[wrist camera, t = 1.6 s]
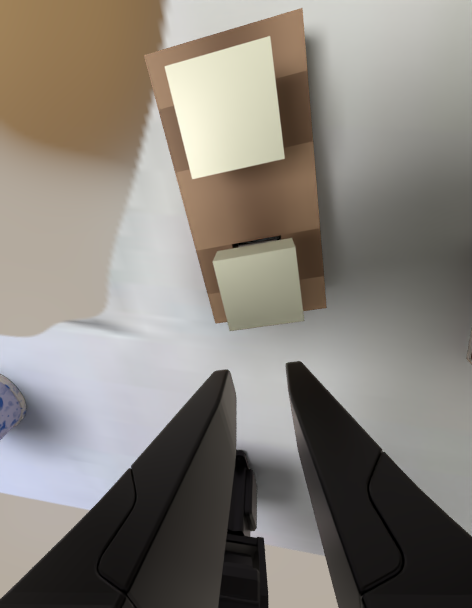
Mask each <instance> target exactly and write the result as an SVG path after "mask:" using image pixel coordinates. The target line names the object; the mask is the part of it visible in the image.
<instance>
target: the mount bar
mask: <svg viewBox="0 0 472 608" xmlns="http://www.w3.org/2000/svg"><path fill="white" fill-rule="evenodd" d="M268 36H270V39H271V47H272V56H273V64H274V72H275V81H276V89H277V97H278V106H279V114H280V123H281V131H282V139H283V148H284V156H285V159H281V160H277V161H272V162H268V163H263V164H259V165H254V166H250V167H245V168H241V169H236V170H232V171H227V172H223V173H218V174H214V175H209V176H205V177H200V178H196V179H192V176H191V172H190V168H189V164H188V160H187V156H186V152H185V148H184V144H183V140H182V136H181V132H180V127H179V123H178V119H177V115H176V111H175V107H174V103H173V99H172V95H171V91H170V87H169V83H168V79H167V75H166V71H165V67H164V66H168V65H171V64H174V63H178V62H181V61H185V60H188V59H192V58H195V57H199V56H202V55H206V54H209V53H213V52H216V51H220V50H223V49H226V48H230V47H233V46H237V45H240V44H244V43H247V42H251V41H254V40H258V39H261V38H265V37H268ZM144 57H145V61H146V65H147V68H148V72H149V76H150V80H151V83H152V87H153V91H154V95H155V99H156V102H157V106H158V110H159V114H160V117H161V121H162V125H163V129H164V132H165V136H166V140H167V144H168V147H169V151H170V155H171V159H172V162H173V166H174V170H175V174H176V177H177V181H178V185H179V188H180V192H181V196H182V200H183V203H184V207H185V211H186V215H187V218H188V222H189V226H190V230H191V233H192V237H193V241H194V245H195V248H196V252H197V256H198V260H199V263H200V267H201V271H202V275H203V278H204V282H205V286H206V290H207V293H208V297H209V301H210V305H211V308H212V312H213V316H214V319H215V323H223V322H227V318H226V314H225V310H224V306H223V302H222V298H221V294H220V290H219V286H218V281H217V277H216V273H215V269H214V265H213V260H214V257H215V255H216V253H217V251H221V250H227V249H233V248H238V243H241V242H247V241H252V240H258V239H263V238H269V237H274V236H279V235H280V240H282V239H288V238H292V240H293V242H294V245H295V248H296V256H297V265H298V273H299V282H300V290H301V298H302V307H303V311H308V310H315V309H322V308H327V307H326V295H325V283H324V270H323V258H322V245H321V233H320V221H319V208H318V196H317V184H316V171H315V159H314V146H313V134H312V122H311V109H310V97H309V85H308V72H307V60H306V47H305V35H304V23H303V10H302V8H301V9H297V10H294V11H291V12H287V13H284V14H281V15H277V16H274V17H271V18H267V19H264V20H261V21H257V22H254V23H250V24H247V25H244V26H240V27H237V28H234V29H230V30H227V31H224V32H220V33H217V34H214V35H210V36H207V37H204V38H200V39H197V40H193V41H190V42H187V43H183V44H180V45H177V46H173V47H170V48H167V49H163V50H160V51H157V52H154V53H150V54H147V55H144Z"/></svg>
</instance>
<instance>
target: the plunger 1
mask: <svg viewBox="0 0 472 608" xmlns="http://www.w3.org/2000/svg"><path fill="white" fill-rule="evenodd" d="M164 67H165V71H166V75H167V79H168V83H169V87H170V91H171V95H172V99H173V103H174V107H175V111H176V115H177V119H178V123H179V127H180V132H181V136H182V140H183V144H184V148H185V152H186V156H187V160H188V164H189V168H190V172H191V176H192V179H196V178H200V177H205V176H209V175H214V174H218V173H223V172H227V171H232V170H236V169H241V168H245V167H250V166H254V165H259V164H263V163H268V162H272V161H277V160H281V159H285V156H284V148H283V139H282V131H281V123H280V114H279V106H278V97H277V89H276V81H275V72H274V64H273V56H272V47H271V39H270V36H268V37H265V38H261V39H258V40H254V41H251V42H247V43H244V44H240V45H237V46H233V47H230V48H226V49H223V50H220V51H216V52H213V53H209V54H206V55H202V56H199V57H195V58H192V59H188V60H185V61H181V62H178V63H174V64H171V65H168V66H164Z"/></svg>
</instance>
